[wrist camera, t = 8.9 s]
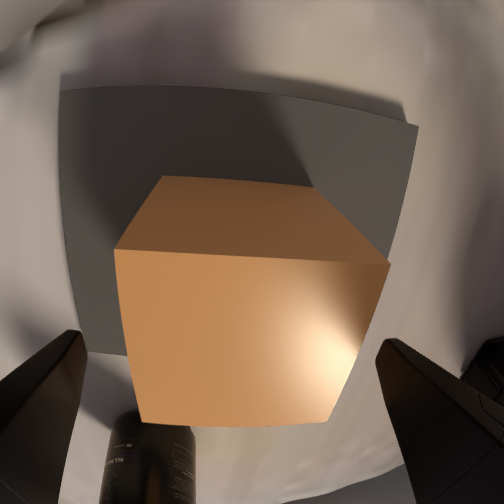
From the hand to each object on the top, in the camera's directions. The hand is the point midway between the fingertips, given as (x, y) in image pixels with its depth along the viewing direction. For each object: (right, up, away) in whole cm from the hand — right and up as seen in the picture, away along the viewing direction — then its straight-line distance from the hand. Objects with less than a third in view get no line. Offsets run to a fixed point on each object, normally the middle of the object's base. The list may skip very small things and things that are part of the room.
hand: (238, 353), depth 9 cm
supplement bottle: (-8, -12, +14) cm, 19 cm away
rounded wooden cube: (0, +3, +6) cm, 7 cm away
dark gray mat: (-1, +3, +7) cm, 8 cm away
